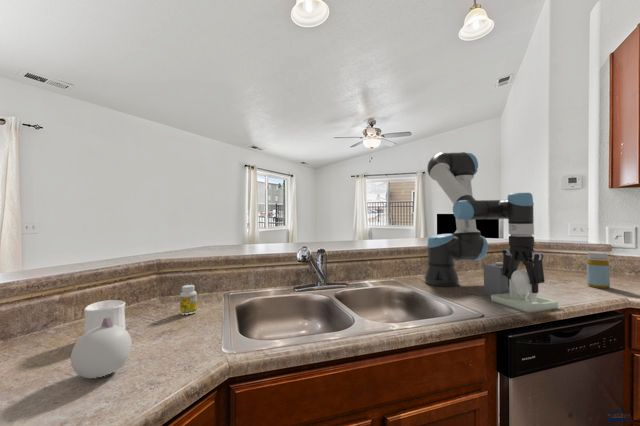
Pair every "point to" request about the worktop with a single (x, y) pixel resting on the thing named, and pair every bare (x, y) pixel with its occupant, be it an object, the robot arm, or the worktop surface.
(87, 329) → the cup
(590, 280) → the bottle
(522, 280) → the light bulb
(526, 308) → the tray
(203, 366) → the worktop surface
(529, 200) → the robot arm
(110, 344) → the ornament
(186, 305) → the supplement bottle
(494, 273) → the box
